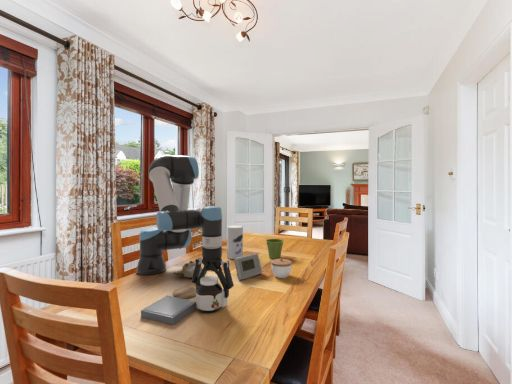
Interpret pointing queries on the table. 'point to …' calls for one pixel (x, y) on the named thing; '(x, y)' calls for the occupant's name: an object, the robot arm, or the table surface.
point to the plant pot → (274, 248)
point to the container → (234, 241)
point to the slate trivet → (168, 310)
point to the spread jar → (209, 294)
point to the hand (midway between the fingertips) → (212, 303)
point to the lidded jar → (281, 267)
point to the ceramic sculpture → (187, 270)
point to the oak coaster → (184, 292)
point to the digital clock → (247, 266)
